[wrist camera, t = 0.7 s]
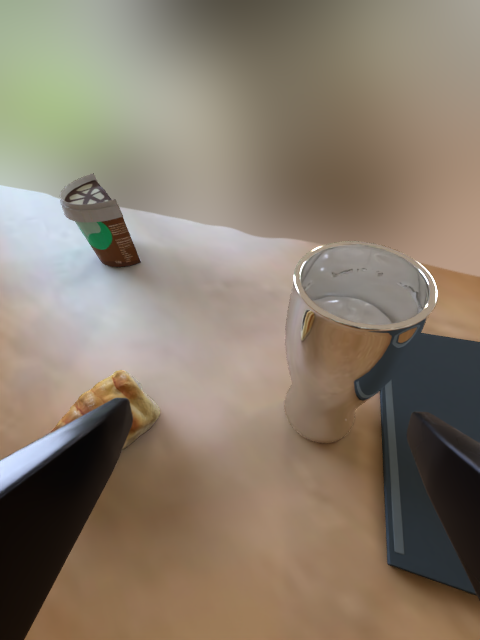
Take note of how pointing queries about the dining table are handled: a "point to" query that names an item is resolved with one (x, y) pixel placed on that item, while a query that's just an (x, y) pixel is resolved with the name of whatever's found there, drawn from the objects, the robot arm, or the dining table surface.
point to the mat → (398, 462)
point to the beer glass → (349, 331)
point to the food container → (99, 221)
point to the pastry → (113, 388)
